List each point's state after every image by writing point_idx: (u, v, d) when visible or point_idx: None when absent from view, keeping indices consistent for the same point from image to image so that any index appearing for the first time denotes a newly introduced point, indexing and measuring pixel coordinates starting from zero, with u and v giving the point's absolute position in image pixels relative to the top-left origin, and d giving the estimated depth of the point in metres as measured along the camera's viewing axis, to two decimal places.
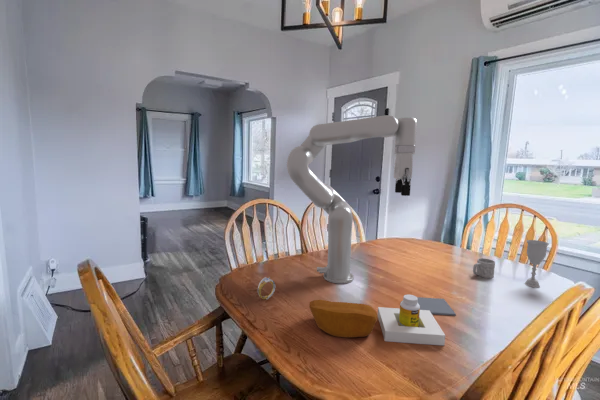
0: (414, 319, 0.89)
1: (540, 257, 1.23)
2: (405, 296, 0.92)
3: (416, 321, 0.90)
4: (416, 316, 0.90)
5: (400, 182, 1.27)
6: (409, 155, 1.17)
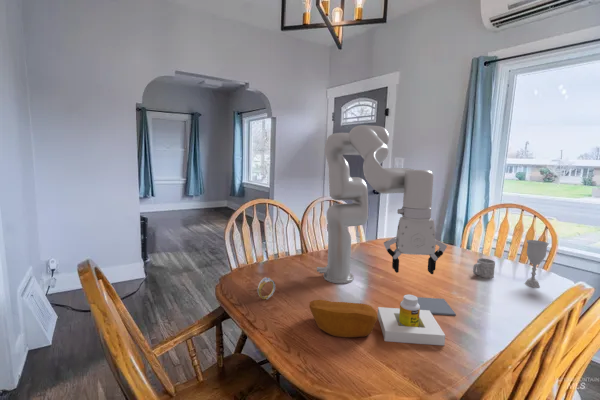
0: (414, 319, 0.89)
1: (540, 257, 1.23)
2: (405, 296, 0.92)
3: (416, 321, 0.90)
4: (417, 316, 0.90)
5: None
6: None
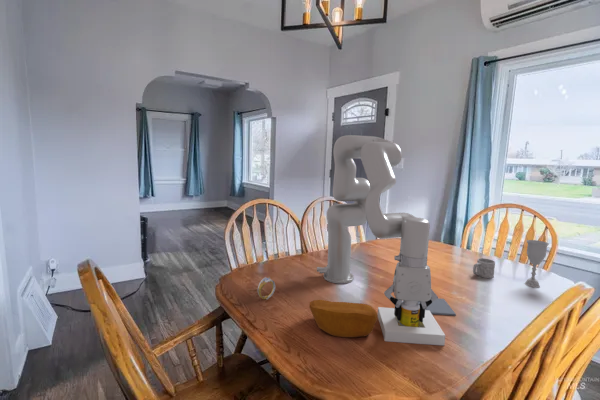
0: (414, 319, 0.89)
1: (540, 257, 1.23)
2: None
3: (416, 321, 0.90)
4: (417, 316, 0.90)
5: None
6: None
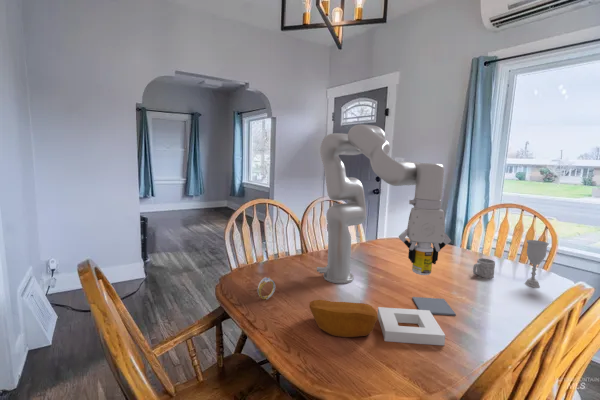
0: (427, 261, 0.93)
1: (540, 257, 1.23)
2: None
3: (429, 263, 0.94)
4: (430, 258, 0.93)
5: (413, 248, 0.96)
6: None
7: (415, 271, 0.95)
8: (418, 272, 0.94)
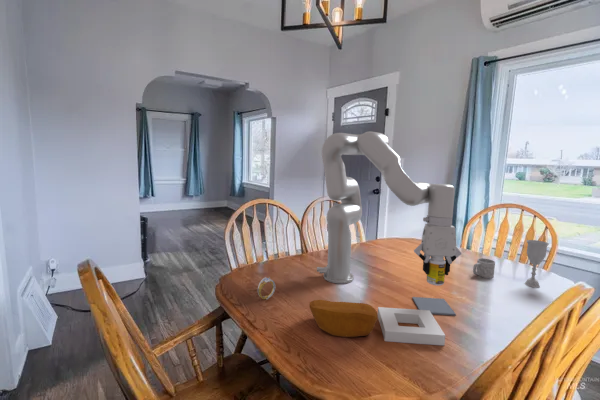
0: (441, 272, 1.03)
1: (540, 257, 1.23)
2: None
3: (443, 274, 1.03)
4: (443, 270, 1.03)
5: None
6: None
7: (430, 282, 1.05)
8: (432, 283, 1.04)
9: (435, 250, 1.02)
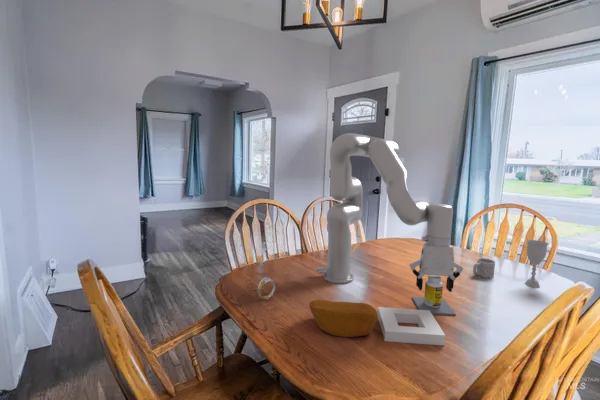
0: (438, 295, 1.04)
1: (540, 257, 1.23)
2: (430, 275, 1.06)
3: (440, 297, 1.04)
4: (440, 293, 1.04)
5: None
6: None
7: (427, 304, 1.06)
8: (430, 305, 1.05)
9: (433, 269, 1.03)
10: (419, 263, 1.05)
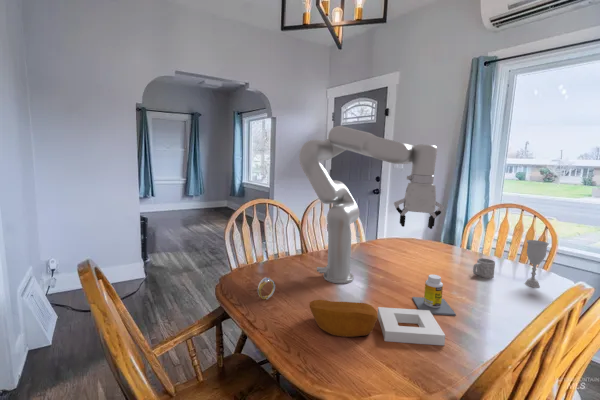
0: (438, 295, 1.04)
1: (540, 257, 1.23)
2: (430, 275, 1.06)
3: (440, 297, 1.04)
4: (440, 293, 1.04)
5: None
6: None
7: (427, 304, 1.06)
8: (430, 305, 1.05)
9: (415, 206, 1.09)
10: (403, 201, 1.11)
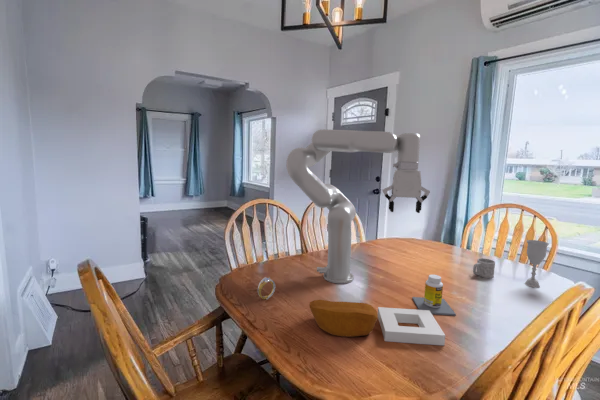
0: (438, 295, 1.04)
1: (540, 257, 1.23)
2: (430, 275, 1.06)
3: (440, 297, 1.04)
4: (440, 293, 1.04)
5: (392, 200, 1.19)
6: None
7: (427, 304, 1.06)
8: (430, 305, 1.05)
9: (403, 192, 1.15)
10: (391, 187, 1.17)
